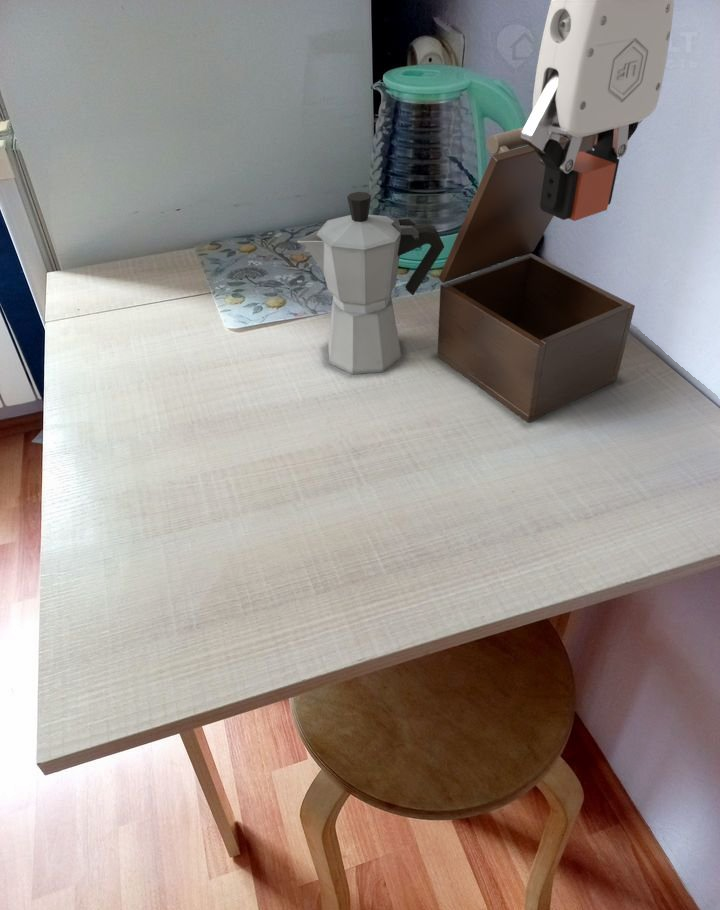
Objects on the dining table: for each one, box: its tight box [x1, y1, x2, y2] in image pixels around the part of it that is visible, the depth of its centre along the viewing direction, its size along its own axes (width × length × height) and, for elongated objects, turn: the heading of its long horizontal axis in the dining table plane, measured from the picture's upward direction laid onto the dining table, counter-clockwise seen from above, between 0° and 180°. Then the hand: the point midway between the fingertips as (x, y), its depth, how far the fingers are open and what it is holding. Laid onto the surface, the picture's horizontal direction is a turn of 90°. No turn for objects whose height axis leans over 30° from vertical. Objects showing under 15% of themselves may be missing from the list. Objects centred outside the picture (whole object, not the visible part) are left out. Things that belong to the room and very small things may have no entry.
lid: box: [438, 126, 594, 284], centre depth 69 cm, size 15×13×5 cm
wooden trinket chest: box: [436, 252, 636, 423], centre depth 74 cm, size 15×13×9 cm
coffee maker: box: [296, 191, 445, 375], centre depth 74 cm, size 15×9×18 cm, turn 95°
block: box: [568, 151, 616, 222], centre depth 61 cm, size 4×4×4 cm
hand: (575, 205), depth 62 cm, fingers closed on block, 4 cm apart
